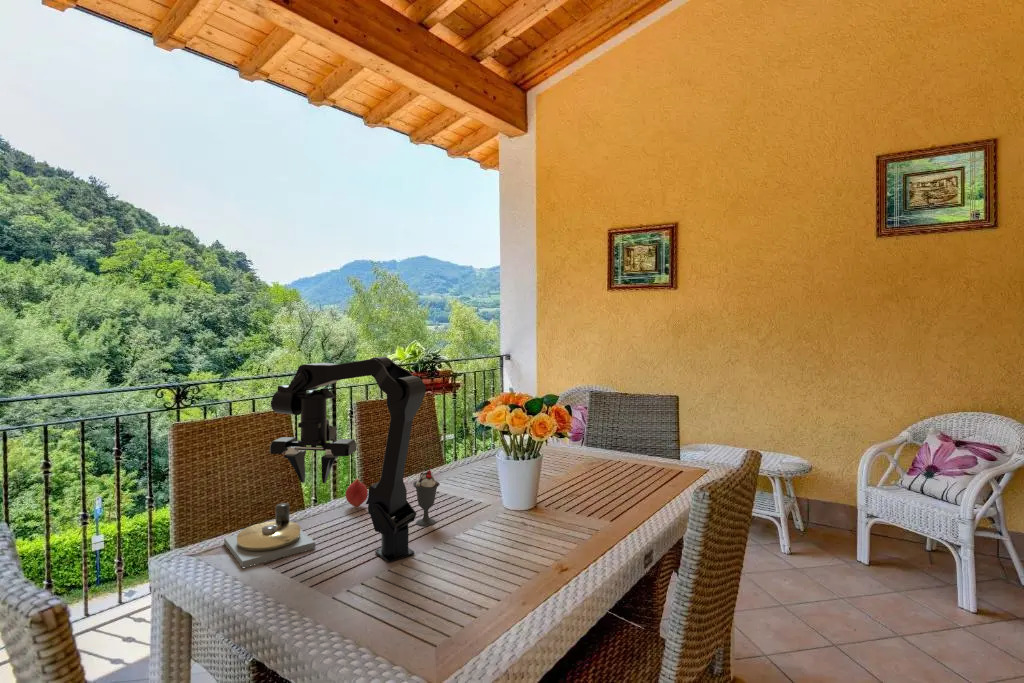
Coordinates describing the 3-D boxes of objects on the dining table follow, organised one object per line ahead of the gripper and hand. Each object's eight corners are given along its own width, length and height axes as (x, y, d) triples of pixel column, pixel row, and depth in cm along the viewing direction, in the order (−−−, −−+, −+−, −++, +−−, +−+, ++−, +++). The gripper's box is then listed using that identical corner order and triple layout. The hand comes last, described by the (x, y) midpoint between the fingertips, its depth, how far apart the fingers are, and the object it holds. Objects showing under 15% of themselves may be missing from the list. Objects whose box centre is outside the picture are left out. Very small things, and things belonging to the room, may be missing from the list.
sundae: (434, 528, 132) (435, 469, 131) (408, 526, 133) (409, 467, 132) (442, 519, 138) (443, 462, 138) (418, 516, 140) (419, 460, 139)
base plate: (315, 548, 119) (315, 542, 119) (242, 568, 110) (242, 561, 109) (291, 527, 131) (291, 521, 131) (224, 544, 121) (224, 537, 121)
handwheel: (309, 540, 119) (309, 516, 119) (246, 556, 111) (246, 530, 111) (289, 522, 129) (289, 500, 129) (230, 536, 121) (230, 512, 120)
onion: (340, 508, 144) (341, 479, 144) (356, 502, 149) (356, 474, 149) (356, 512, 142) (357, 483, 141) (372, 506, 147) (372, 477, 146)
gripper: (364, 411, 132) (364, 474, 132) (291, 409, 133) (291, 471, 134) (347, 420, 121) (347, 488, 121) (268, 418, 122) (268, 485, 123)
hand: (313, 482), depth 125 cm, fingers open, 5 cm apart
